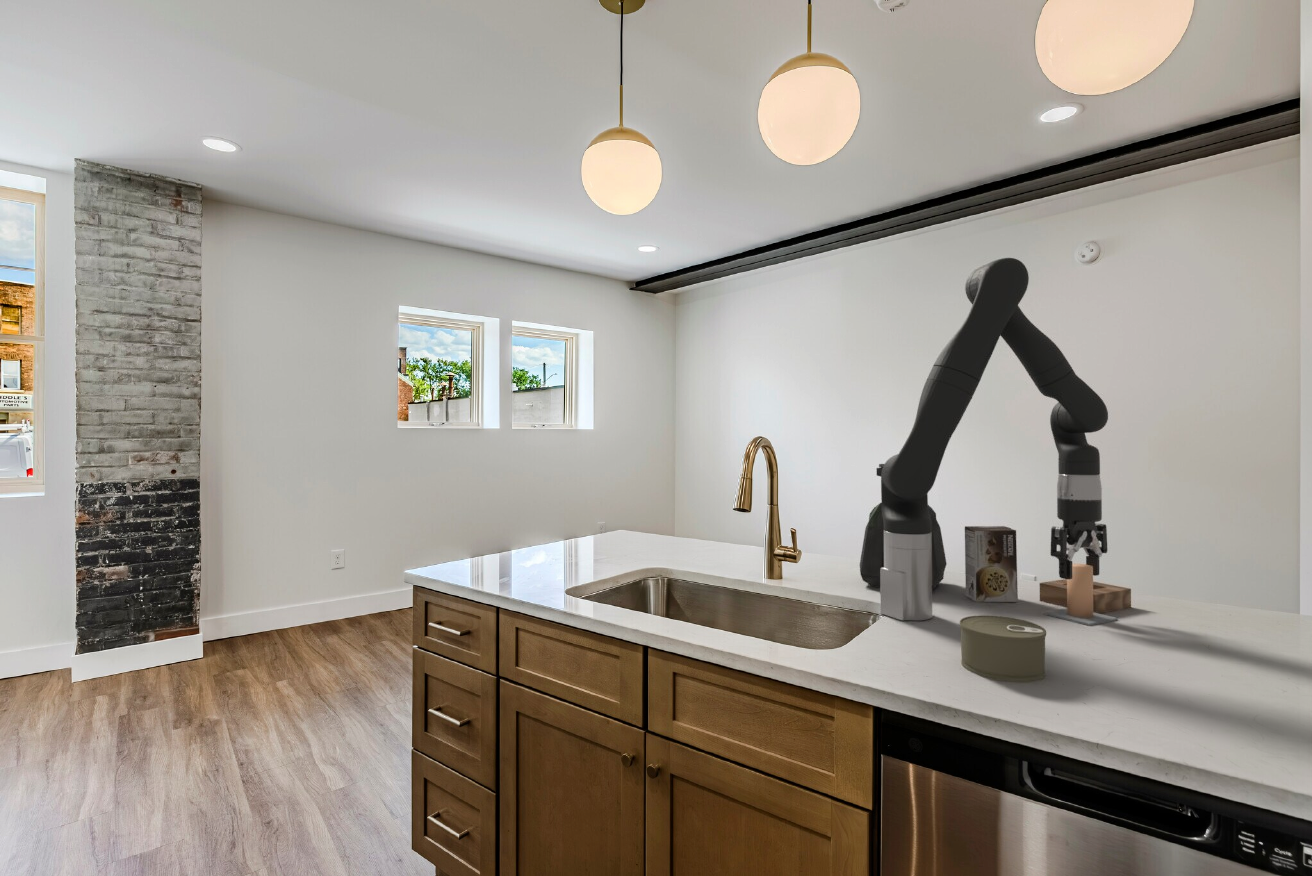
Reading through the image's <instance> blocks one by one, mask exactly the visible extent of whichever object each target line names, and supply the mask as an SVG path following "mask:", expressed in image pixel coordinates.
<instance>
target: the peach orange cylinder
mask: <svg viewBox="0 0 1312 876" xmlns="http://www.w3.org/2000/svg"><path fill="white" fill-rule="evenodd" d="M1093 582H1094V575H1093V566H1090V565H1086V563H1085V564H1084V563H1072V579H1067V607H1066V608H1067V614H1068V615H1070V616H1074V617H1079V618H1093Z"/></svg>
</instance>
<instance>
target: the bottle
mask: <svg viewBox="0 0 1312 876" xmlns="http://www.w3.org/2000/svg"><path fill="white" fill-rule="evenodd" d="M884 464H885V463H879V464H878V467H876V476H878V477H880V478H881V473H882V468H883V466H884ZM928 510H929V515H930V518H931V521H932V590H934V589H935V588H936V587H937V586H938V585H939V584H940V583H941V582H942V581H943V579H944V577H945V576H944V575H945V570H946V568H947V565H948V564H947V559H946V552H945V547H944V543H943V542H944V541H943V536H942V531H941V526H940V524H939V522H938V520H937V513H936V512H935V510H934V509H933V508H932V507H931V506H930V505H929V504H928ZM859 561H860V562H859V573H860V577H861V578H862V581H863V582H865V583H867V584H868V585H869V586H870V587H873V588H874V587H875V588H880V569H881V568H882V567H884V522H883V516H882V501H881V502H880V503H879V504H877V505H876V506H874V507H873V508H872V510H871V511H870V512H869V515H868V522H867V524H866V526H865V529H864V537H863V541H862V548H861V554H860V560H859Z"/></svg>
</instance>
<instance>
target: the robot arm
mask: <svg viewBox="0 0 1312 876" xmlns="http://www.w3.org/2000/svg"><path fill="white" fill-rule="evenodd" d="M1029 279H1030V278H1029V272H1028V269H1027V267H1026V265H1025V264H1024V263H1023V262H1022V261H1021V260H1019V259H1017V258H1014V257H1004V258H998V259H995V260H993V261H989V263H987V264H984V265H982V266H980V267H978V268H977V269H974V270H973V271H972V272H971V273H970V274H969V276H968V277H967V279H966V282H965V285H964V286H965V287H964V290H965V294H966V295H965V296H966V297H967V299H968V301H969V302H970V303H971V304H972V305H971V307H970V310H969V312H968V314H967V317H966V318H965V320H964V321H963V323H962V324H961V326H960V328H959V329H958V330H957V331H956V332H955V334H954V335H953V337H951V339H950V340H949V341H948V342H947V344H946V345H945V346H944V347H943V349H942V350H941V352H940V353H939V355H938V357H937V358H936V360H935V362H934V363H933V366H932V368H931V369H930V372H929V374H928V376H927V379H925V383H924V385H923V388H922V390H921V394H920V398H919V401H918V406H917V410H916V411H917V412H916V417H915V420H914V424H913V426H912V428H911V431H910V433H909V435H908V437H907V438H906V440H905V442H904V444H903V446H902V447H901V449H900V451H899V453H898V454H895V455H892V456H891V457H890V458H888V459H887V460H886V461H885V462H884V463H883V464H884V466H883V468H882V473H881V477H880V488H881V489H880V493H881V502H882V516H883V522H884V567H882V568H881V569H880V587H879V588H880V589H879V590H880V593H879V594H880V614H882V615H886V616H888V617H890V618H894V619H895V620H896V619H897V620H900V621H926V620H930V619H932V618H933V589H932V521H931V518H930V515H929V510H928V505H929V501H928V499H929V495H928V493H929V492H930V491H931V490H932V488H933V487H934V485H935V482H936V478H937V476H938V472H939V470H940V468H941V467H940V466H941V463H942V460H943V458H944V454H945V453H946V450H947V447H948V444H949V442H950V440H951V439H952V436H953V435H954V433H955V431H956V430H957V427H958V425H960V422H961V420H962V418H963V417H964V415H965V412H966V411H967V408H968V407H969V404H970V402H971V400H972V399H973V397H974V395H975V393H976V390H977V388H978V386H979V384H980V381H981V380H982V377H983V375H984V372H985V370H986V368H987V366H988V363H989V361H990V360H991V357H992V355H993V352H994V350H995V348H996V346H997V343H998V342H999V339H1000V337H1001V339H1003V340H1004V342H1005V343H1006V344H1007V345H1008V347H1009V348H1010V349H1011V351H1012V352H1013V353H1014V355H1015V356H1016V358H1017V359H1018V361H1019V362H1020V364H1022V366H1023V368H1024V369H1025V371H1026V373H1027V374H1028V376H1029V377H1030V379H1031V380H1032V382H1033V383H1034V385H1035V386H1036V388H1037V390H1038V391H1039V393H1041V394H1042V395H1043V396H1044V397H1046V398H1047V397H1048V398H1051V399H1054V400H1056V401H1057V403H1056V404H1054V406H1053V408H1052V409H1051V412H1050V419H1049V421H1050V423H1049V424H1050V429H1051V432H1052V437H1053V441H1054V445H1055V447H1056V449H1057V453H1058V454H1057V455H1058V461H1057V462H1058V469H1057V470H1058V477H1057V483H1056V499H1057V500H1056V504H1057V505H1056V509H1057V511H1056V512H1057V513H1056V517H1057V519H1059V520H1062V526H1052V527H1051V528H1050V530H1051V531H1050V532H1051V533H1050V556H1051V557H1055V558H1056V559H1058V576H1059V578H1061V579H1062V580H1063V579H1072V564H1073V558H1074V556H1075V554H1076V553H1078V552H1079V551H1080V549H1081V548H1082V549H1083V550H1084V552H1085V554H1086V556H1085V565H1090V566H1093V577H1095V576H1099V575H1100V558H1101V557H1102V556H1103V554H1107V553H1108V532H1107V524H1104V523H1097V522H1100V521H1102V519H1103V515H1102V514H1103V513H1102V512H1103V511H1102V508H1103V507H1102V505H1103V503H1102V502H1103V501H1102V500H1103V498H1102V497H1103V496H1102V495H1103V494H1102V489H1103V488H1102V487H1103V486H1102V481H1101V460H1100V458H1101V456H1100V450H1099V449H1098V447H1096V446H1094V445H1092V444H1090V443H1088V440H1087V437H1086V434H1087V433H1088V434H1091V433H1095V432H1099V431H1100V430H1102V429H1103V428H1104V427H1105V426H1106V425H1107V423H1108V420H1109V411H1108V409H1107V406H1106V404H1105V402H1104V400H1103V399H1102V397H1100V395H1099V394H1098V393H1097V392H1096V391H1095V390H1093V389H1092V388H1091V387H1090V385H1088V384H1087V383H1086V382H1085V381H1084V380H1083V379H1082V378H1080V377H1079V376H1078V375H1077V374H1076V372H1075V371H1074V369H1073V367H1072V365H1071V364H1070V363H1069V361H1068V359H1067V358H1066V356H1065V355H1064V353H1063V352H1062V350H1061V349H1060V348H1059V346H1057V344H1056V343H1055V342H1054V341H1053V340H1052V339H1051V338H1050V337H1048V336H1047V334H1045V333H1044V332H1042V331H1041V330H1040V329H1039V328H1038V327H1037V326H1036V325H1035V324H1033V322H1031V320H1030V319H1028V317H1027V316H1026V315H1025V313H1024V312H1023V311H1022V309H1021V308H1020V306H1019V304H1020V303H1021V301H1022V299H1023V298H1024V296H1025V294H1026V291H1027V290H1028V285H1029V282H1030V281H1029ZM1058 547H1059V548H1058ZM1057 548H1058V549H1057ZM1067 551H1068V552H1067Z"/></svg>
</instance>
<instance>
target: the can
mask: <svg viewBox="0 0 1312 876" xmlns="http://www.w3.org/2000/svg"><path fill="white" fill-rule="evenodd" d="M959 626H960V645H961V650H960V651H961V661H960V662H961V666H962V667H963V668H964V669H965V670H967V671H969V672H970V673H973V674H975V675H978V676H979V677H983V678H986V679H990V680H996V681H1000V682H1001V681H1002V682H1009V683H1033V682H1038V681H1041V680H1043V679H1045V677H1046V671H1045V670H1046V636H1047V630H1046V628H1044V627H1043V626H1041V625H1039V624H1037V623H1034V622H1031V621H1028V620H1024V619H1020V618H1014V617H1008V616H1002V615H1001V616H999V615H987V614H986V615H981V614H980V615H969V616H966V617H963V618H961V619H960V620H959Z"/></svg>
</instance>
